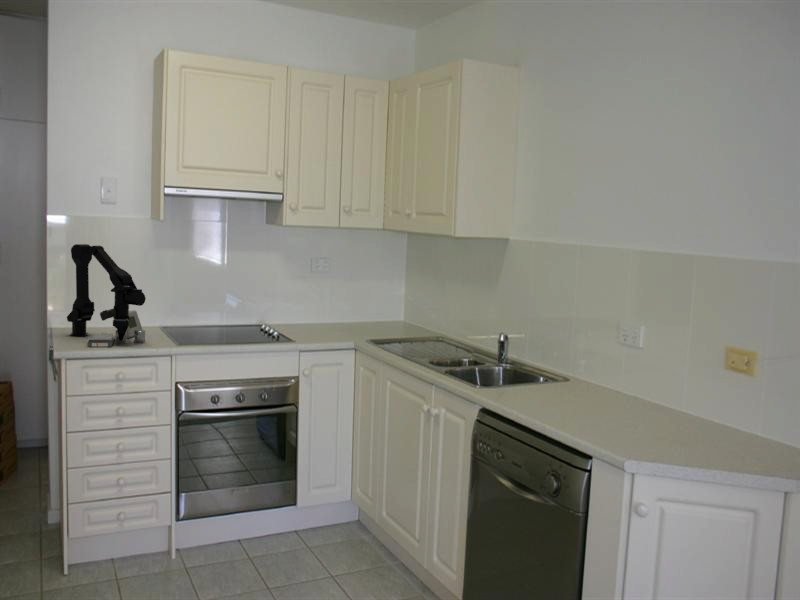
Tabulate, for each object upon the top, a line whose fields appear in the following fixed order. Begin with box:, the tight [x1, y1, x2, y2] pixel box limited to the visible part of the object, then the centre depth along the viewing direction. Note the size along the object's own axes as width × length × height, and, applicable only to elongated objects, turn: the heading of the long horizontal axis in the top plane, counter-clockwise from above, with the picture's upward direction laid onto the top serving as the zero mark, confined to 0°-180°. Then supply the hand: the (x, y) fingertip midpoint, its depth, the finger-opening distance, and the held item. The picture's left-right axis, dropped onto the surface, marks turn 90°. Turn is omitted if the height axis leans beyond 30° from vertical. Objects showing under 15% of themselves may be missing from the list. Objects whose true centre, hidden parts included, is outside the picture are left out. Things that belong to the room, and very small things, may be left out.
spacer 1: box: [114, 329, 128, 344], centre depth 313 cm, size 4×4×5 cm
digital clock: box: [127, 309, 144, 339], centre depth 329 cm, size 16×9×11 cm, turn 166°
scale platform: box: [87, 332, 113, 341], centre depth 304 cm, size 10×9×1 cm
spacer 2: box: [133, 329, 146, 344], centre depth 315 cm, size 4×4×5 cm
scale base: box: [87, 337, 114, 348], centre depth 304 cm, size 10×9×2 cm
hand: (120, 339), depth 313 cm, fingers closed on spacer 1, 4 cm apart
